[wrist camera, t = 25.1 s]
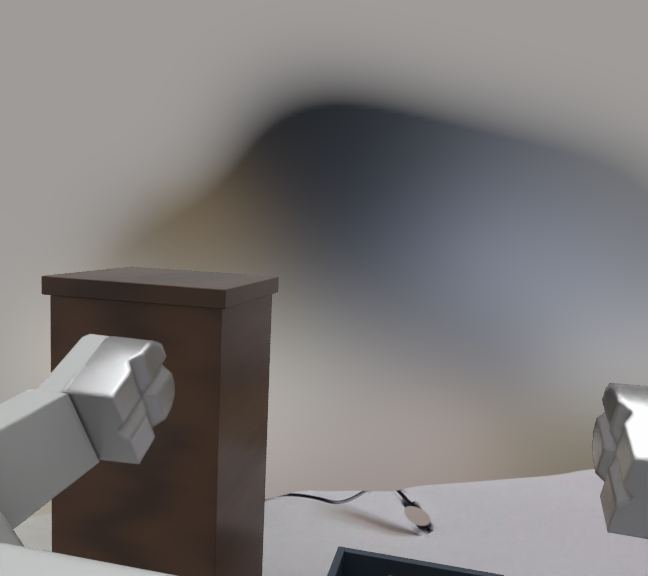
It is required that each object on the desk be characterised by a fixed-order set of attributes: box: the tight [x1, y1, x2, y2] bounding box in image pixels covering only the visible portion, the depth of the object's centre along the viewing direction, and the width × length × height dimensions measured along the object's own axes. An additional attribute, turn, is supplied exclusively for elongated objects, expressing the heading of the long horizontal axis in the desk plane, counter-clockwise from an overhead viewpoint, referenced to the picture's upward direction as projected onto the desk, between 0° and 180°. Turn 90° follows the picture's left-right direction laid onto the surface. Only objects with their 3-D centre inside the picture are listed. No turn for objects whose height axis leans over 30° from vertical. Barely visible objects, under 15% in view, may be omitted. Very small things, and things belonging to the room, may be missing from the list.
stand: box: [42, 267, 279, 576], centre depth 35 cm, size 11×9×26 cm
